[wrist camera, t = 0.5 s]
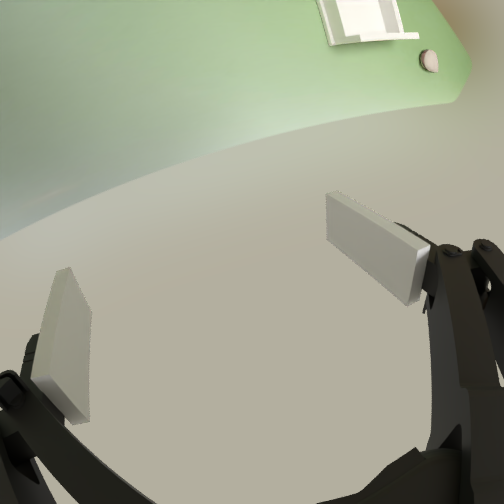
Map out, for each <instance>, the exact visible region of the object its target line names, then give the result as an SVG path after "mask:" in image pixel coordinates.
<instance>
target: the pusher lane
mask: <svg viewBox="0 0 504 504" xmlns="http://www.w3.org/2000/svg"><path fill="white" fill-rule="evenodd" d="M316 2H317V5H318V8H319V11H320V15H321V18H322V22H323V25H324V29H325V33H326V36H327V40H328V44H329V46H332V45H340V44H349V43H358V42H369V41H383V40H400V39H419V34H418V33H404V30H403V26H402V22H401V18H400V14H399V10H398V6H397V3H396V0H316Z"/></svg>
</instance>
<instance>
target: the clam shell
mask: <svg viewBox="0 0 504 504" xmlns="http://www.w3.org/2000/svg"><path fill="white" fill-rule="evenodd" d="M421 64H422V66H423V67H424V68H425V69H426V70H428V71H431V72H438V59H437V55H436V53H435V52H434V51H432V50H425V51H424V52H423V53H422V55H421Z"/></svg>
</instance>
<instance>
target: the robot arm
mask: <svg viewBox="0 0 504 504" xmlns="http://www.w3.org/2000/svg"><path fill="white" fill-rule="evenodd" d="M326 223H327V240H328V241H329V242H330V243H331V244H333V245H334V246H335V247H336V248H338V249H339V250H340V251H341V252H343V253H344V254H345V255H346V256H348V257H349V258H350V259H351V260H352V261H354V262H355V263H356V264H357V265H358V266H360V267H361V268H362V269H363V270H364V271H366V272H367V273H368V274H369V275H370V276H372V277H373V278H374V279H375V280H377V281H378V282H379V283H380V284H381V285H382V286H383V287H385V288H386V289H387V290H388V291H389V292H391V293H392V294H393V295H394V296H395V297H397V299H399V300H400V301H401V302H402V303H403V304H404V305H405V306H407V307H408V306H409V305H411V304H413V303H415V302H417V301H419V299H420V294H421V290H422V289H423V290H424V291H426V292H427V296H426V300H425V304H424V308H423V313H424V314H425V310H426V309H427V316H428V326H429V338H430V354H431V376H432V418H431V434H430V437H429V441H428V443H427V447H426V451H422V452H419V451H418V449H417V448H416V447H415V448H413V449H412V450H411V451H409V452H408V453H406V454H405V455H403V456H402V457H400V458H399V459H397V460H396V461H394V462H392V463H391V464H389V465H388V466H387V467H386V468H384V469H383V471H381V473H379V475H378V476H376V478H374V479H373V480H372V481H371V482H370V483H369V484H368V485H367V486H366V487H365V488H364V489H363V490H361V491H360V492H358V493H356V494H352V495H349V496H345V497H341V498H337V499H333V500H329V501H325V502H321V503H317V504H504V387H501V386H500V383H499V377H498V372H497V366H496V362H497V364H498V367H499V369H500V371H501V374H502V376H503V378H504V254H503V253H502V251H501V250H500V249H499V248H498V247H497V246H496V245H495V244H494V243H492V242H490V241H489V240H486V239H477V240H475V241H474V243H473V247H472V250H470V251H462V250H461V249H460V248H459V247H456V246H454V245H450V244H442V245H440V246H437V245H436V244H434V243H432V242H431V241H429V240H428V239H426V238H424V237H423V236H421V235H418V233H416V232H415V231H412V230H411V229H409V228H408V227H406V226H405V225H402V224H399V223H396V222H392V221H390V220H389V219H387V218H385V217H384V216H382V215H380V214H379V213H377V212H375V211H373V210H371V209H370V208H368V207H366V206H364V205H363V204H361V203H359V202H357V201H356V200H353V199H352V198H350V197H348V196H346V195H344V194H343V193H341V192H339V191H335V192H331V193H327V194H326ZM489 281H490V283H491V290H489V289H488V283H489ZM91 319H92V311H91V309H90V308H89V306H88V303H87V301H86V300H85V297H84V295H83V293H82V291H81V289H80V287H79V285H78V283H77V281H76V279H75V277H74V274H73V272H72V270H71V268H70V267H68V268H66V269H63V270H59V271H57V272H56V275H55V278H54V282H53V285H52V288H51V292H50V296H49V299H48V302H47V306H46V310H45V313H44V318H43V321H42V325H41V329H40V333H39V334H35V335H32V337H31V339H30V340H29V342H28V344H27V346H26V350H25V356H24V359H23V364H22V368H21V373H20V377H19V376H18V374H17V373H16V372H14V371H12V370H7V371H4V372H2V373H0V407H1V408H2V409H3V410H1V411H0V504H56V501H55V500H54V498H53V496H52V494H51V492H50V490H49V488H48V486H47V484H46V482H45V480H44V478H43V476H42V474H41V472H40V470H39V467H38V465H37V463H36V461H35V459H34V457H36V456H37V457H38V458H39V459H40V461H41V462H42V463H43V464H44V465H45V467H46V468H47V469H48V470H49V471H50V473H51V474H52V475H53V476H54V477H55V478H56V480H58V482H59V483H60V484H61V485H62V486H63V487H64V488H65V489H66V491H67V492H68V493H69V494H70V495H71V496H72V497H73V498H74V499H75V500H76V501H77V502H78V503H79V504H156V503H155V502H153V501H152V500H151V499H149V498H148V497H146V496H145V495H144V494H142V493H141V492H139V491H138V490H137V489H136V488H134V487H133V486H132V485H130V484H129V483H128V482H126V481H125V480H124V479H123V478H121V477H120V476H119V475H118V474H116V473H115V472H114V471H113V470H112V469H110V468H109V467H108V466H107V465H106V464H104V463H103V462H102V461H101V460H100V459H99V458H98V457H96V456H95V455H94V454H93V453H92V452H91V451H90V450H89V449H87V447H85V446H84V445H83V444H82V443H81V442H80V441H79V440H78V439H77V438H76V437H75V436H74V435H73V434H72V433H71V432H70V431H69V430H68V429H67V428H66V427H65V426H64V421H65V420H64V419H65V418H66V419H67V420H68V421H69V422H70V423H71V424H72V425H76V424H82V423H87V422H90V413H89V412H90V411H89V355H90V334H91ZM495 360H496V361H495Z"/></svg>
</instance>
